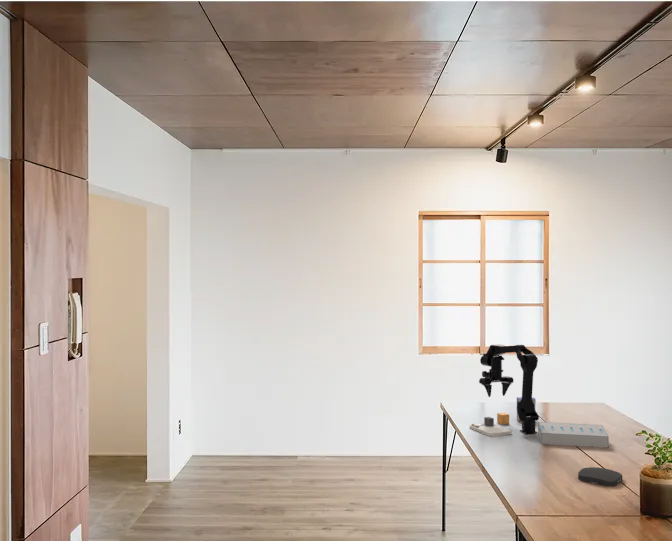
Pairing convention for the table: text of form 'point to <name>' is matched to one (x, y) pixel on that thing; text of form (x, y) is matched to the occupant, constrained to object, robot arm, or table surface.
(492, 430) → the board
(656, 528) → the table surface
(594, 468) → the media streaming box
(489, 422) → the block
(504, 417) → the cap
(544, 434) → the warehouse
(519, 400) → the ink cartridge box
